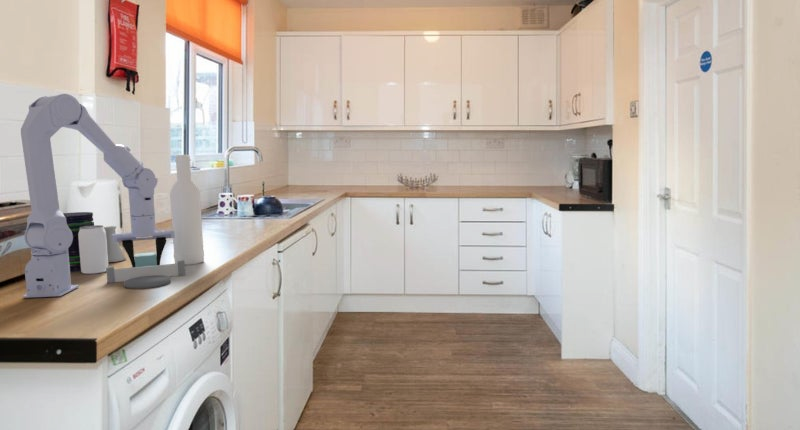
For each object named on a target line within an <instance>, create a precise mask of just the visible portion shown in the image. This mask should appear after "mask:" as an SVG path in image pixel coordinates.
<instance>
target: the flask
mask: <svg viewBox="0 0 800 430" xmlns="http://www.w3.org/2000/svg"><path fill="white" fill-rule="evenodd" d="M103 228H104V230H105V231H106V241H107V254H108V263H118V262H121V261H125V260H127V257H126V256H125V254H124V252H123V249H122V248H121V245H120V242H117V243H113V239H112V234H117V233H116V229H117V226H114V225H110V226H103Z"/></svg>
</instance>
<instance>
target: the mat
mask: <svg viewBox="0 0 800 430" xmlns="http://www.w3.org/2000/svg"><path fill="white" fill-rule="evenodd" d="M171 281H172V280H171V277H169V276H162V275H154V276H143V277H137V278H132V279H129V280H126V281H123V283H124V287H125V289H131V290H142V289H143V290H144V289H153V288H159V287H164V286H166V285H169V284H171Z"/></svg>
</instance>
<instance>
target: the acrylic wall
mask: <svg viewBox="0 0 800 430" xmlns="http://www.w3.org/2000/svg"><path fill="white" fill-rule="evenodd" d="M106 271H107V272H106V282H107V284H113V283H120V282H125V281H126V280H129V279H132V278H137V277H143V276H154V275H162V276H169V277H170V278H172V277H182V276H183V277H184V276H186V265H185V261H184V260H181V261H177V263H176V264H175V263H168V264H167V263H166V264H160V265H154V266H143V267H132V266H131V267H124V268H122V267H121V268H115V267H114V266H108V267H106Z"/></svg>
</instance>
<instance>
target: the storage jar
mask: <svg viewBox="0 0 800 430" xmlns="http://www.w3.org/2000/svg"><path fill="white" fill-rule="evenodd" d="M62 213H63V212H62ZM63 214H64V216H65V217H66V222H67V225H68V227H69V228H70V230H71V231H72V234H73V241H72V244H71V245H70V247H69V248H68V253H69V264H70V273H78V272H79V273H80V272H81V264H80V252H79V239H78V233H79V230H80V227H83V226H94V225H95V222H94V218H93V217H94V213H93V212H92V211H91V212H90V211H88V212H87V211H83V212H82V211H79V212H66V213H65V212H64V213H63Z"/></svg>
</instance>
